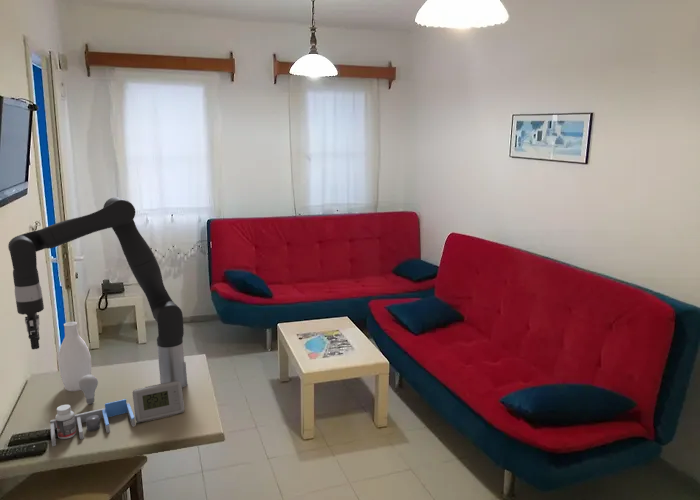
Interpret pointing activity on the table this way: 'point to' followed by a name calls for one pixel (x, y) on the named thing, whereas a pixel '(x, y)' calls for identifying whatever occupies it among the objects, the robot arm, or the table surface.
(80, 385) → the lightbulb
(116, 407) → the pronged rack
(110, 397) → the table surface
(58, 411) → the pill bottle
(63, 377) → the bottle
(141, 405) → the digital clock
